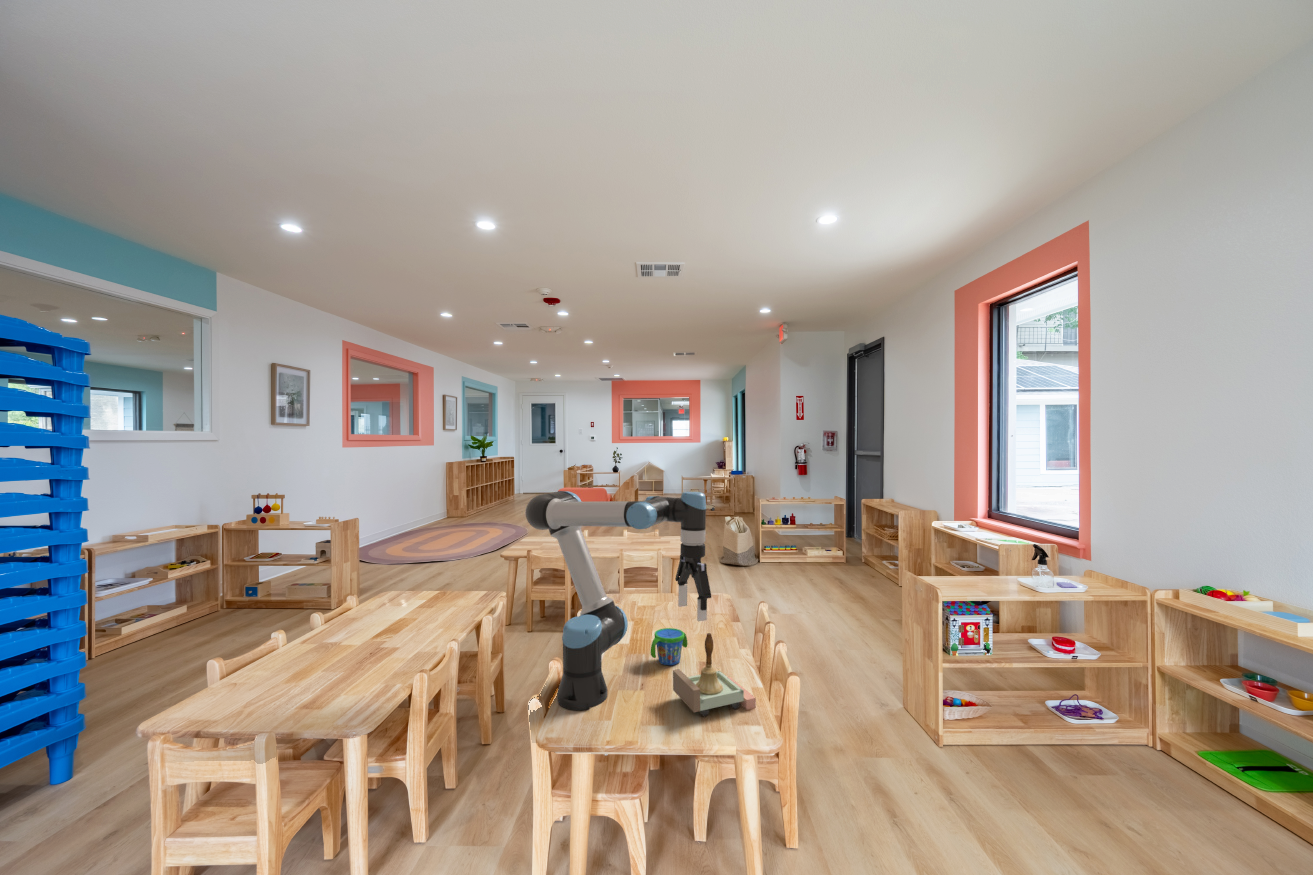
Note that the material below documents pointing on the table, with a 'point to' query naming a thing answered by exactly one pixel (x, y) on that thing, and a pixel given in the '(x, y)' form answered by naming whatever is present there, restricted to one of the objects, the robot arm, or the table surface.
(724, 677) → the pale green tray
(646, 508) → the robot arm
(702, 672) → the hand bell
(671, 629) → the snack cup
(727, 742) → the table surface
